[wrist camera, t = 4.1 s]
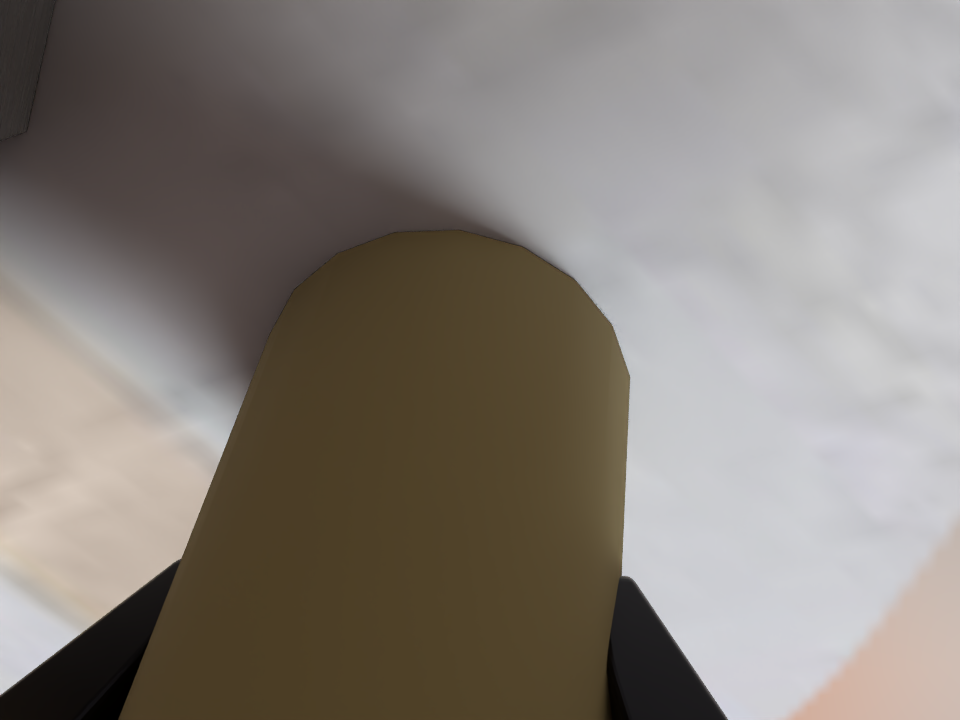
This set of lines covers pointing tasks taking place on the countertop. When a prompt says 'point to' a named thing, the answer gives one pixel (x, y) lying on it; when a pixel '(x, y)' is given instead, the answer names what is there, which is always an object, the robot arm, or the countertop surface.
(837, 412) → the countertop surface
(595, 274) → the countertop surface
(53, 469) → the countertop surface
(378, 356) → the cork
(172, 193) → the countertop surface
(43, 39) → the lower chain end
